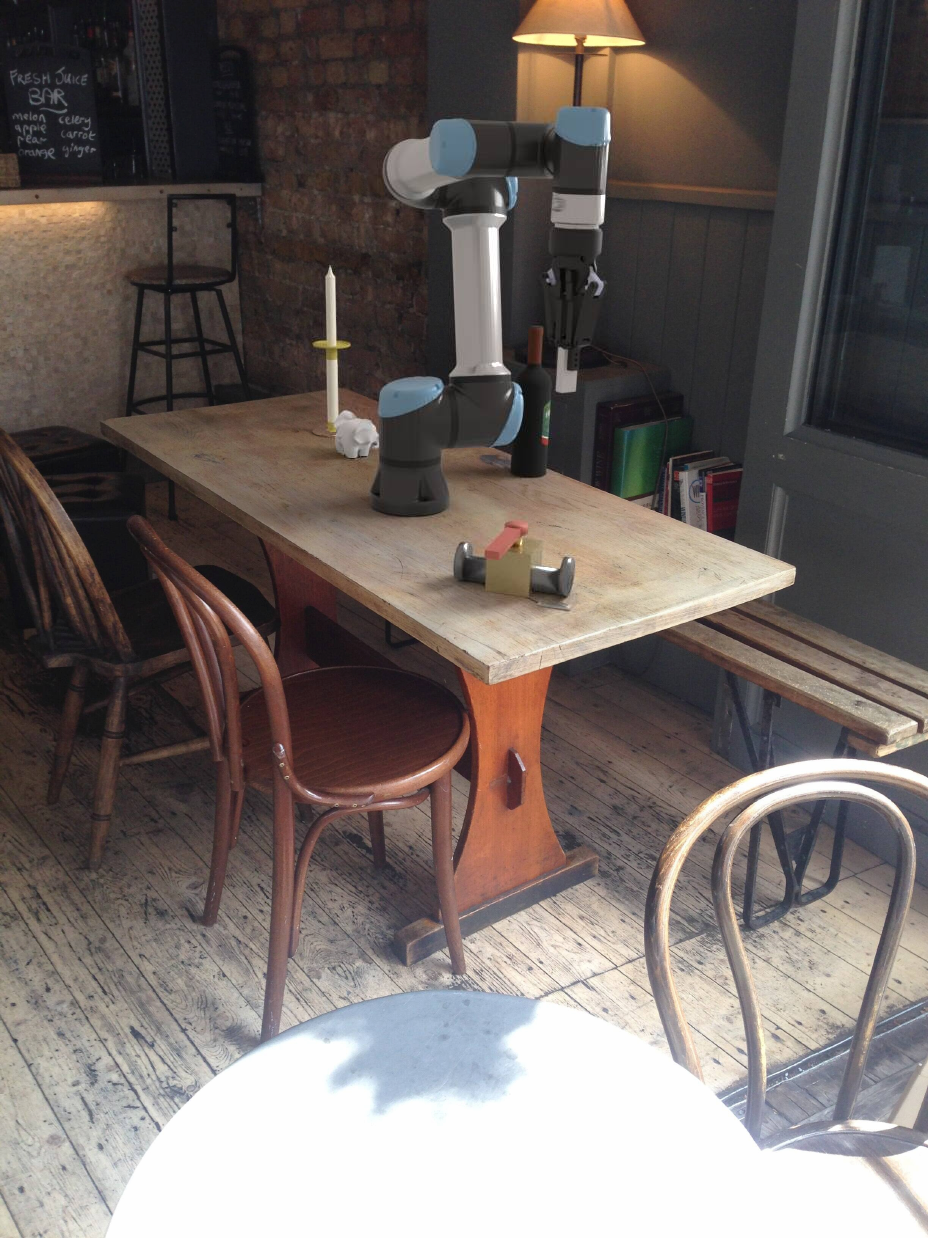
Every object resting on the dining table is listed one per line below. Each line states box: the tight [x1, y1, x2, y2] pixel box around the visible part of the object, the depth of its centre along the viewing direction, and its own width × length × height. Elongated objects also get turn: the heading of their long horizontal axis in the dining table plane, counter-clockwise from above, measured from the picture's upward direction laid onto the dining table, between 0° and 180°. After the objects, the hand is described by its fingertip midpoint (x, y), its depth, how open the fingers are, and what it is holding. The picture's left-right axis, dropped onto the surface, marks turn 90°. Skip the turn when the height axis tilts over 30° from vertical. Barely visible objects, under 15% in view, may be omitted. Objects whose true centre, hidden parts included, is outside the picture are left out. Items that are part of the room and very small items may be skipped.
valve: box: [452, 536, 576, 611], centre depth 169 cm, size 20×9×9 cm, turn 71°
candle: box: [312, 266, 351, 432], centre depth 248 cm, size 10×10×38 cm
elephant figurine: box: [333, 410, 379, 459], centre depth 237 cm, size 10×12×9 cm
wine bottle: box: [510, 325, 553, 479], centre depth 224 cm, size 8×8×30 cm
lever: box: [483, 520, 529, 560], centre depth 163 cm, size 14×4×1 cm, turn 161°
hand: (565, 390), depth 165 cm, fingers closed
